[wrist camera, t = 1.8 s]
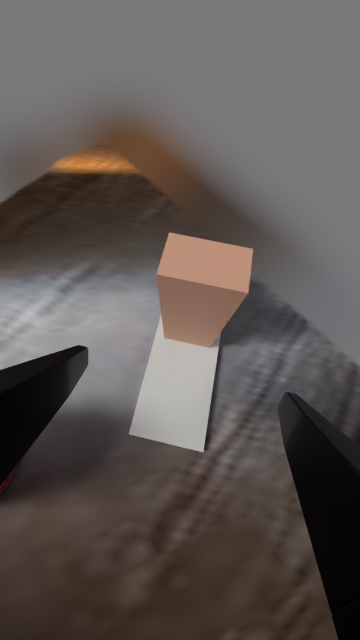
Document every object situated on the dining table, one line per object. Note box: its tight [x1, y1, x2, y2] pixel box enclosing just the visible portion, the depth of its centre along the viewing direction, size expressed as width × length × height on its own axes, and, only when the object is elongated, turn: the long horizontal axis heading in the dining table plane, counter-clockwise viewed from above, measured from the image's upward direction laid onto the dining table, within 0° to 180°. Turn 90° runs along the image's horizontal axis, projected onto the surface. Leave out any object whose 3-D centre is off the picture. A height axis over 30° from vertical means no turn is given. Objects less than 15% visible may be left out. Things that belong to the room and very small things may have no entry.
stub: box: [157, 233, 253, 348], centre depth 17 cm, size 3×5×12 cm, turn 78°
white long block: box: [129, 316, 221, 452], centre depth 20 cm, size 18×7×6 cm, turn 168°
